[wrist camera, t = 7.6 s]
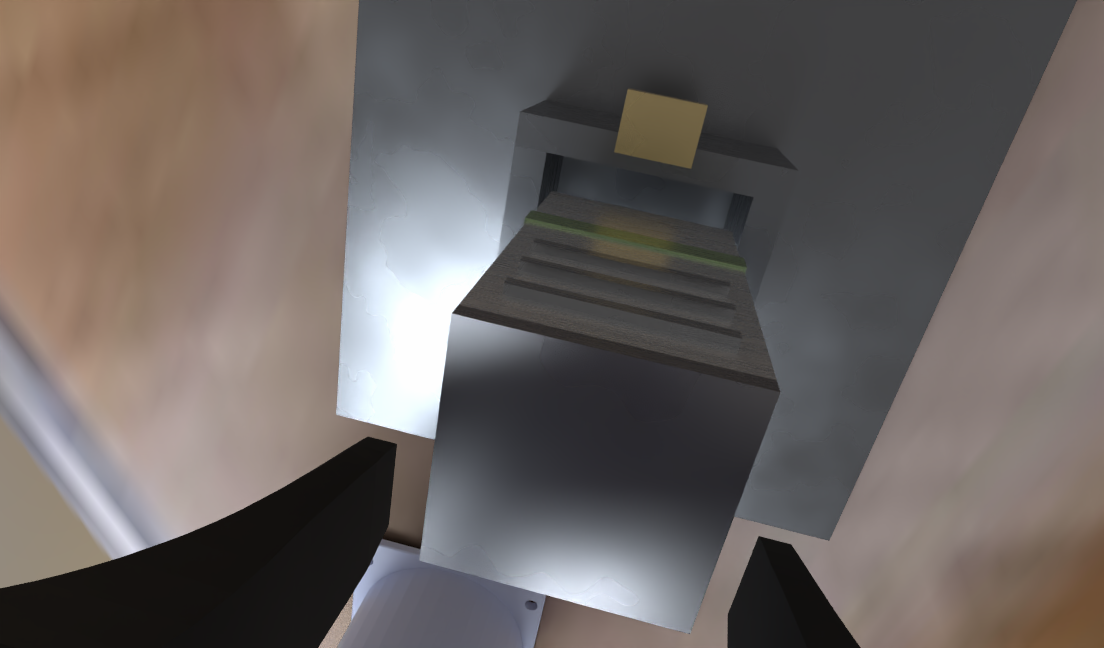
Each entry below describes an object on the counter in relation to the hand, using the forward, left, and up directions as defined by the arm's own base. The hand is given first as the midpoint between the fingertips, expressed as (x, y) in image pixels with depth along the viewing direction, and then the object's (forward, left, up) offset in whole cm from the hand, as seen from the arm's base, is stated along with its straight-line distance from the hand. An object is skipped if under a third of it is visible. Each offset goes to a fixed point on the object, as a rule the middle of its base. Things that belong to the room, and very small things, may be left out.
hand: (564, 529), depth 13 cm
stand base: (+3, 0, -10) cm, 11 cm away
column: (+3, 0, -4) cm, 5 cm away
